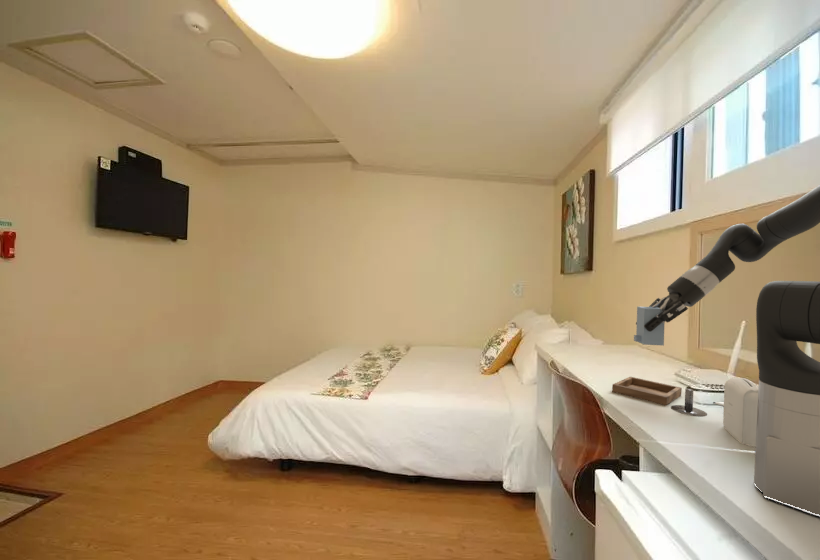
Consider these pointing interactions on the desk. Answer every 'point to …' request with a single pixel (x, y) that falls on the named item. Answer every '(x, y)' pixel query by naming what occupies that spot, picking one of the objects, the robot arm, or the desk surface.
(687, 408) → the round base metal stand
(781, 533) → the desk surface
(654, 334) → the blue square pencil cup
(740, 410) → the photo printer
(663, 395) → the tray
